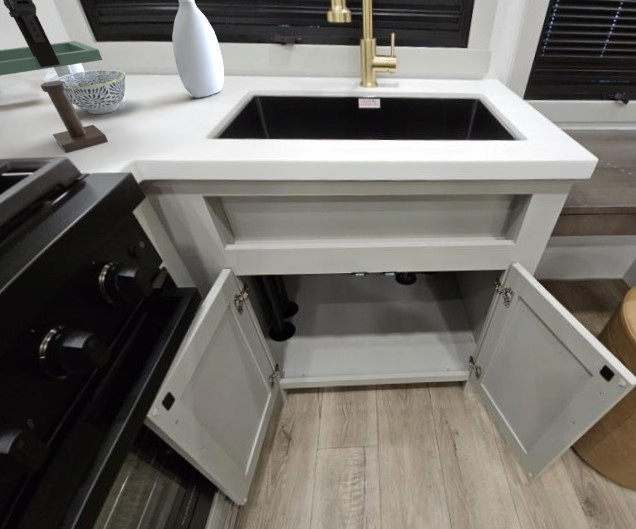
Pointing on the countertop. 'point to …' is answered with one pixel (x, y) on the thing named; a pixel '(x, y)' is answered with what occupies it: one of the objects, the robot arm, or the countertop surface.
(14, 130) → the countertop surface
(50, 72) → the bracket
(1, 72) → the frame
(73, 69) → the mug
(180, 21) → the soap bottle
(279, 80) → the countertop surface
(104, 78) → the bowl
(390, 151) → the countertop surface
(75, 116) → the peg stand
